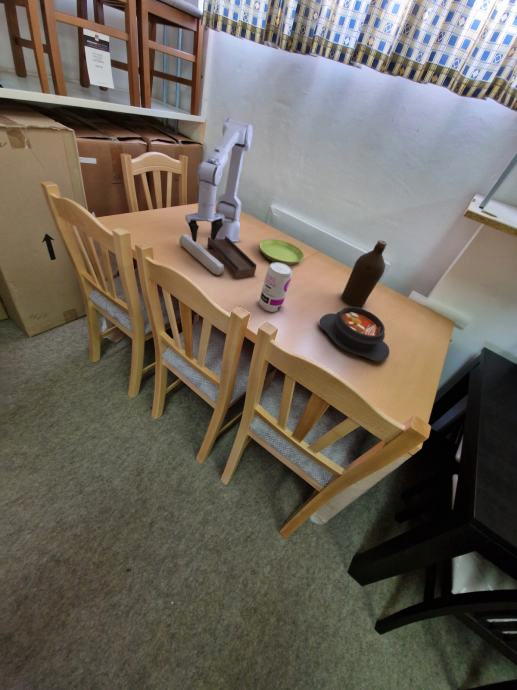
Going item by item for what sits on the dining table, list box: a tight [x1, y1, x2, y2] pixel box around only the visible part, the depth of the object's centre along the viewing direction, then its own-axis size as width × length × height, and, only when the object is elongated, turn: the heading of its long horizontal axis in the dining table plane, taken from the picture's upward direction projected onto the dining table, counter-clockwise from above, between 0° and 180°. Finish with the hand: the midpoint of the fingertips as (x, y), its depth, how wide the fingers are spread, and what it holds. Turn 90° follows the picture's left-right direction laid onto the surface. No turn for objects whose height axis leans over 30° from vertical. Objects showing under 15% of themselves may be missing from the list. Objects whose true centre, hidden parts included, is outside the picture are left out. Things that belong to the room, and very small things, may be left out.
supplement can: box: [258, 262, 293, 313], centre depth 98 cm, size 8×8×15 cm
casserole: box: [318, 306, 390, 362], centre depth 96 cm, size 25×19×8 cm
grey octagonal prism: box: [178, 233, 225, 276], centre depth 114 cm, size 5×5×25 cm
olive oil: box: [340, 239, 388, 309], centre depth 110 cm, size 11×11×25 cm
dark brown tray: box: [206, 236, 258, 280], centre depth 118 cm, size 9×24×5 cm, turn 34°
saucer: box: [259, 238, 305, 266], centre depth 132 cm, size 21×21×3 cm
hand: (203, 240), depth 111 cm, fingers open, 7 cm apart
